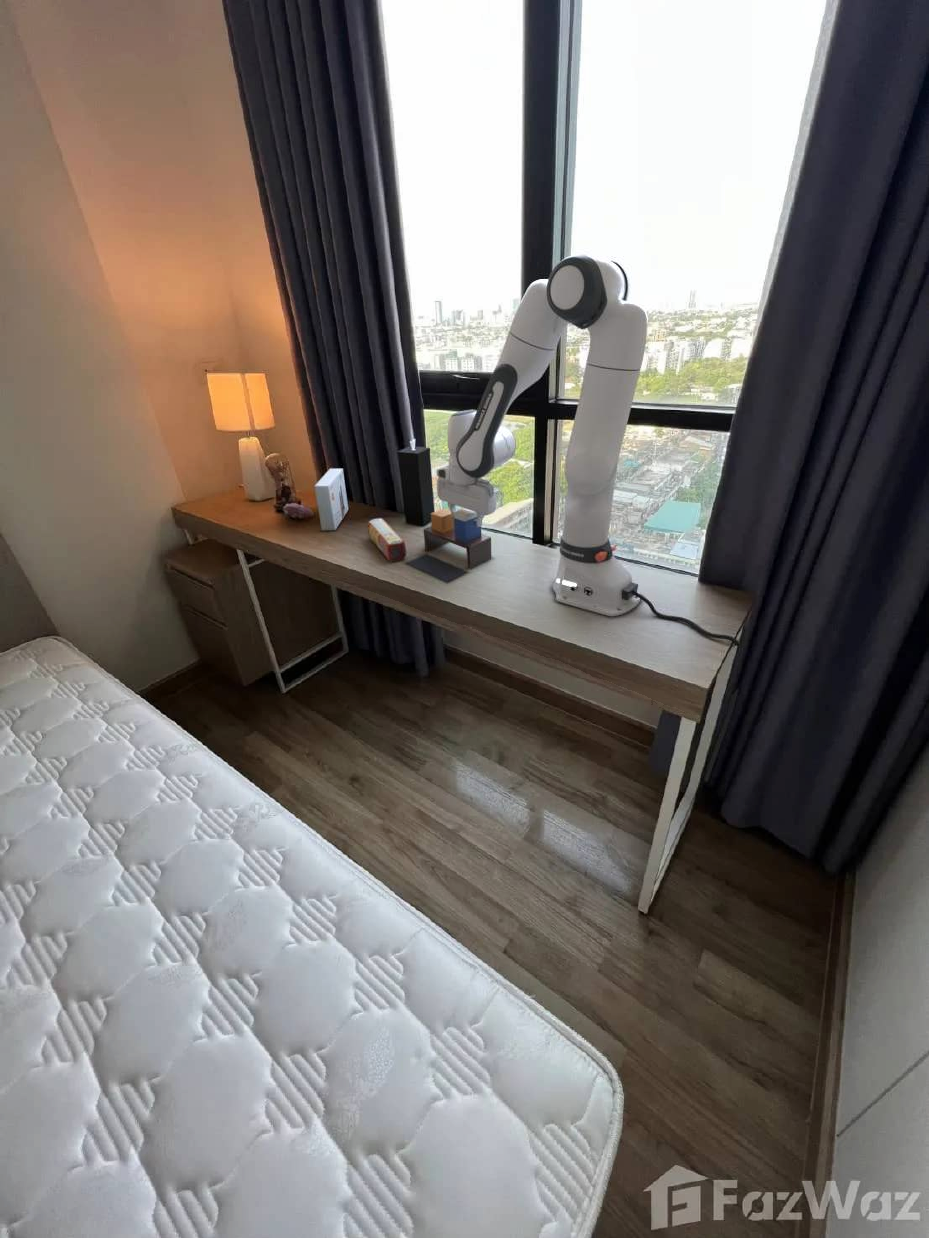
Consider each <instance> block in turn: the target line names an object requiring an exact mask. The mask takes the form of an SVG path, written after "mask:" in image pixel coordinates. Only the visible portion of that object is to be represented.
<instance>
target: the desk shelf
mask: <svg viewBox="0 0 929 1238" xmlns="http://www.w3.org/2000/svg"><path fill="white" fill-rule="evenodd" d="M422 531H423V540H424V550H425V551H427V552H429V551H432V550H433V549H435V548H439V547H441V546H443V545H445V544H448V543H450V544H452V545H453V544H454V545H456V546H458V547H461V548H463V549H465V550H466V565H467V569H469V570H471V569H473V568H475V567H477V566H479V565H481V564H483V563H486V562H487V561H490V560H491V559H492V537H491V536H490V535H487V534H484V533H481V536H480V537H478V538H475V539H473V540H471V541H469V542H466V543H465V542H462V541H460V540H457V539H455V532H454V529H452V530H449V531H447V532H444V533H441V532H439V531H436V530H433V529H432V525H431V526H427V527H426V528H423V530H422Z"/></svg>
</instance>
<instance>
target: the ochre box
mask: <svg viewBox="0 0 929 1238" xmlns="http://www.w3.org/2000/svg"><path fill="white" fill-rule="evenodd" d="M430 523H431V526H432V529H433V530H436V531H439V532H441V533H444V532H447V531H449V530H452V529H454V518H452V517H451V511H450V509H448V508H442V509H438V510H435V512H433V513H431V521H430Z"/></svg>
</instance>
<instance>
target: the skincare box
mask: <svg viewBox="0 0 929 1238" xmlns="http://www.w3.org/2000/svg"><path fill="white" fill-rule="evenodd" d="M314 491H315V498H316V504H317V510H318V515H319V521H320V529H321V531H336V530H337V529H338V527H339V525H340V524H341V522H342V520H343V519H344V518H345V516H346V514H347V513H348V511H349V505H348V497H347V496H348V495H347V490H346V483H345V475H344V468H329V469H328V470H327V471H326V472H325V473H324V475H322V477H321V478H320V479H319V480H318V481H317V482H316V483H315V485H314Z"/></svg>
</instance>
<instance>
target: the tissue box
mask: <svg viewBox="0 0 929 1238" xmlns="http://www.w3.org/2000/svg"><path fill="white" fill-rule="evenodd" d="M409 444H410V445H409V446H407V447H405V448H402V449H400V450H398V451H397V452H396V455H397V458H398V459H397V461H398V469H399V475H400V476H399V478H400V487H401V494H402V495H401V496H402V503H403V512H404V520H405V524H408V525H409V524H410V525H416V526H421V527H425V526H427V525H428V524H429V523H431V513H433V512H436V509H435V499H434V488H433V487H434V486H433V475H432V473H433V471H432V461H431V460H432V459H431V448H430V447H424V446H416V438H413V439H412V440H410V441H409Z"/></svg>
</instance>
